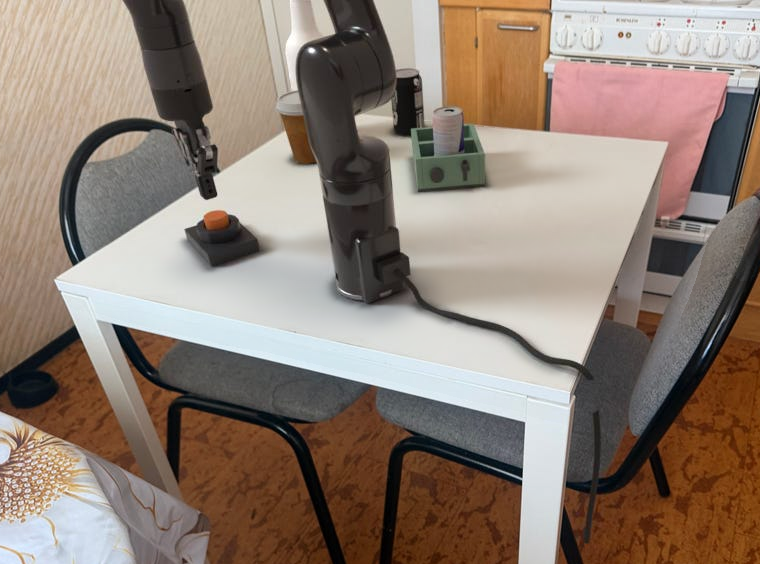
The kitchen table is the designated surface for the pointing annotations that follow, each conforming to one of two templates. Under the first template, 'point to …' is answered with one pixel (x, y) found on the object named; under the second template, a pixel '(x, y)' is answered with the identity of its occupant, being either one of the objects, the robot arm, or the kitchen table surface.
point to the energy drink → (448, 131)
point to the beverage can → (408, 101)
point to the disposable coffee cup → (295, 127)
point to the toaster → (447, 162)
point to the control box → (222, 241)
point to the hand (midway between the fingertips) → (209, 197)
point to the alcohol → (300, 34)
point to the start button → (216, 219)
